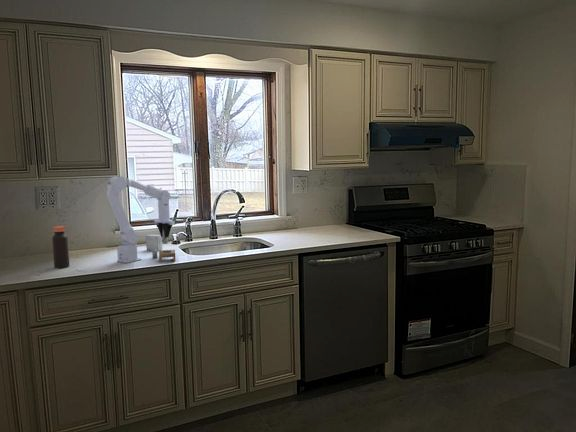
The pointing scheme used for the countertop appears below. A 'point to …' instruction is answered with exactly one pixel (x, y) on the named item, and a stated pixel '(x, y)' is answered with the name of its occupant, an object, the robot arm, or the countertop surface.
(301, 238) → the countertop surface
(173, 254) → the hole bridge
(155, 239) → the medicine box
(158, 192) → the robot arm
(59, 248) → the bottle
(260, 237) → the countertop surface
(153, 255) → the short pin
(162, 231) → the tall pin
